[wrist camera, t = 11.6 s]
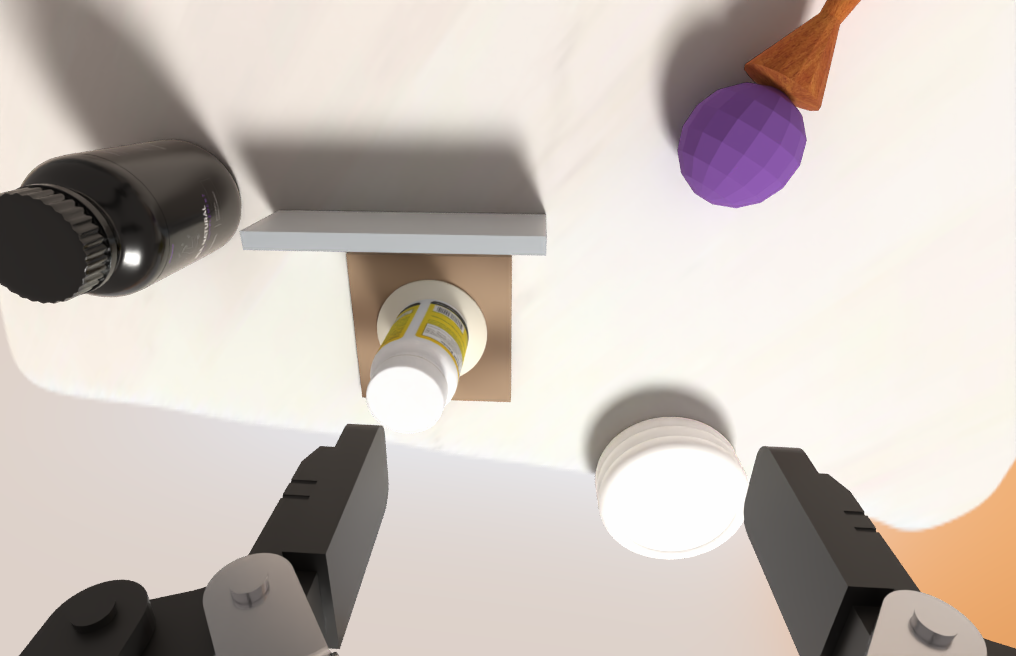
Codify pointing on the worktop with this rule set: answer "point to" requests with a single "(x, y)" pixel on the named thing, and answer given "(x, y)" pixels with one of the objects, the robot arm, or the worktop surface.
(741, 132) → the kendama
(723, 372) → the worktop surface
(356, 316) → the walnut board
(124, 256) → the supplement bottle
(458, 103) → the worktop surface
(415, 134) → the worktop surface
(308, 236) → the low wall
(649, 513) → the coaster
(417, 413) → the supplement bottle
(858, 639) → the robot arm
